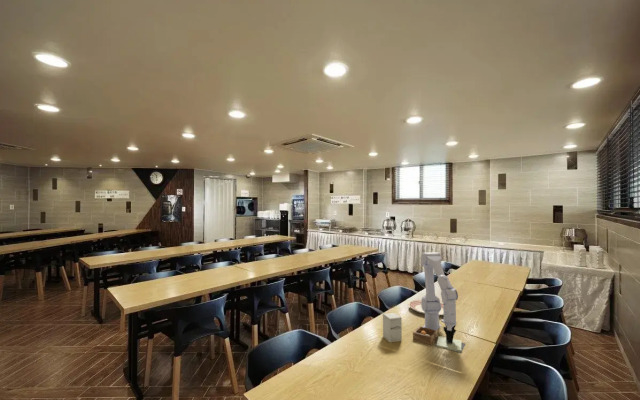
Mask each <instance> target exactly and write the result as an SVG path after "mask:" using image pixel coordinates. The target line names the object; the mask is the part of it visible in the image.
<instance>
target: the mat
mask: <svg viewBox="0 0 640 400" xmlns="http://www.w3.org/2000/svg"><path fill="white" fill-rule="evenodd" d="M434 346H435V347H437V342H435V343H434ZM465 346H466V342H462V345H461V352H459V351H455V350H450V349H447V351H448V350H449V351H452V352H455V353H458V354H462V351H463V350H464V348H465ZM443 349H444V350H446V349H445V348H443Z"/></svg>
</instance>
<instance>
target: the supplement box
mask: <svg viewBox="0 0 640 400" xmlns="http://www.w3.org/2000/svg"><path fill="white" fill-rule="evenodd" d="M402 331H403V330H402V316H400V315H398V314H397V313H395V312H390V313H382V336H383V338H384V339H385V340H386V341H387V342H389V343H394V342H395V343H396V342H402V339H403V338H402V337H403V336H402V334H403V332H402Z"/></svg>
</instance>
